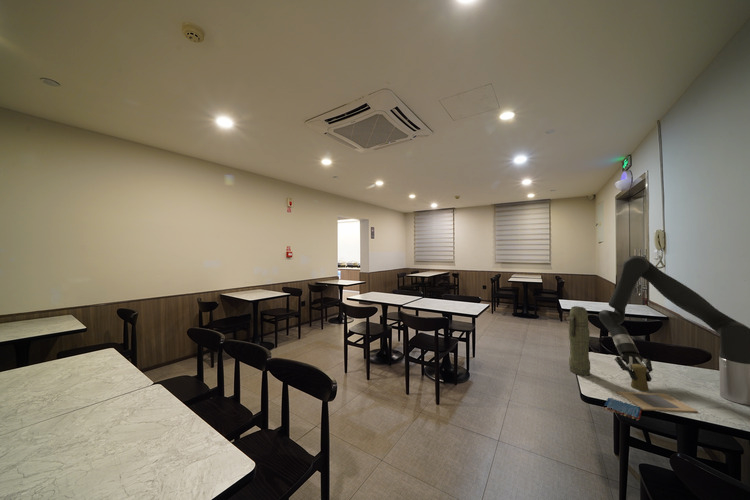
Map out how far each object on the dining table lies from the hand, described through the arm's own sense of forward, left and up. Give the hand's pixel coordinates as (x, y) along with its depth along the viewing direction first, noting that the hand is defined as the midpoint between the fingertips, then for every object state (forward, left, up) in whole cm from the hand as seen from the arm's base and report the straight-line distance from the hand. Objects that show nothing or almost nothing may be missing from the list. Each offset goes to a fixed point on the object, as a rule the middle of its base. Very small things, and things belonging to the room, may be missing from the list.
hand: (642, 380), depth 122 cm
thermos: (+17, -17, -5) cm, 24 cm away
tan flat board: (+4, +10, -5) cm, 12 cm away
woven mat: (+22, +17, -5) cm, 28 cm away
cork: (0, -2, -5) cm, 5 cm away
